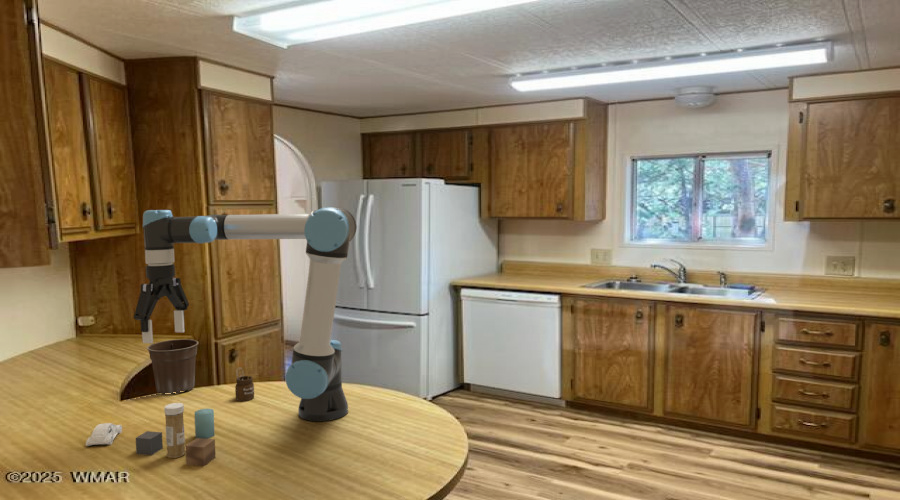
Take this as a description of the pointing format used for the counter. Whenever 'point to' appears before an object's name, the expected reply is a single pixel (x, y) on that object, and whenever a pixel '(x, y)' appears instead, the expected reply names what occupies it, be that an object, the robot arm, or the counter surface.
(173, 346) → the plant pot
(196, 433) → the teal cylinder
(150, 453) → the black plastic cube
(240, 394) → the utensil holder
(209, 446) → the walnut block
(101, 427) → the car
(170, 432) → the sprinkles bottle
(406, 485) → the counter surface
